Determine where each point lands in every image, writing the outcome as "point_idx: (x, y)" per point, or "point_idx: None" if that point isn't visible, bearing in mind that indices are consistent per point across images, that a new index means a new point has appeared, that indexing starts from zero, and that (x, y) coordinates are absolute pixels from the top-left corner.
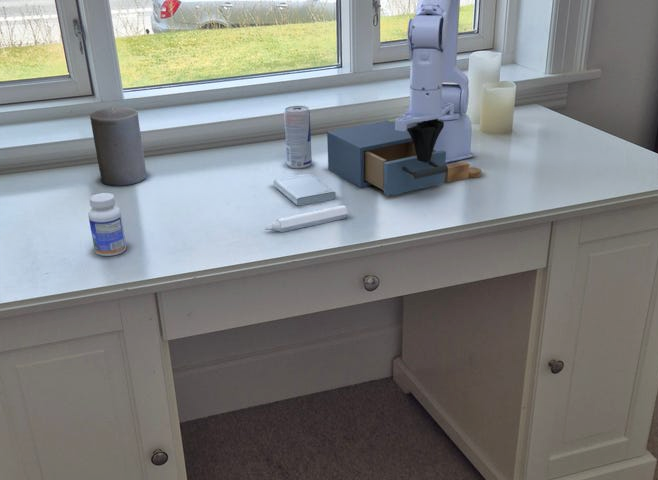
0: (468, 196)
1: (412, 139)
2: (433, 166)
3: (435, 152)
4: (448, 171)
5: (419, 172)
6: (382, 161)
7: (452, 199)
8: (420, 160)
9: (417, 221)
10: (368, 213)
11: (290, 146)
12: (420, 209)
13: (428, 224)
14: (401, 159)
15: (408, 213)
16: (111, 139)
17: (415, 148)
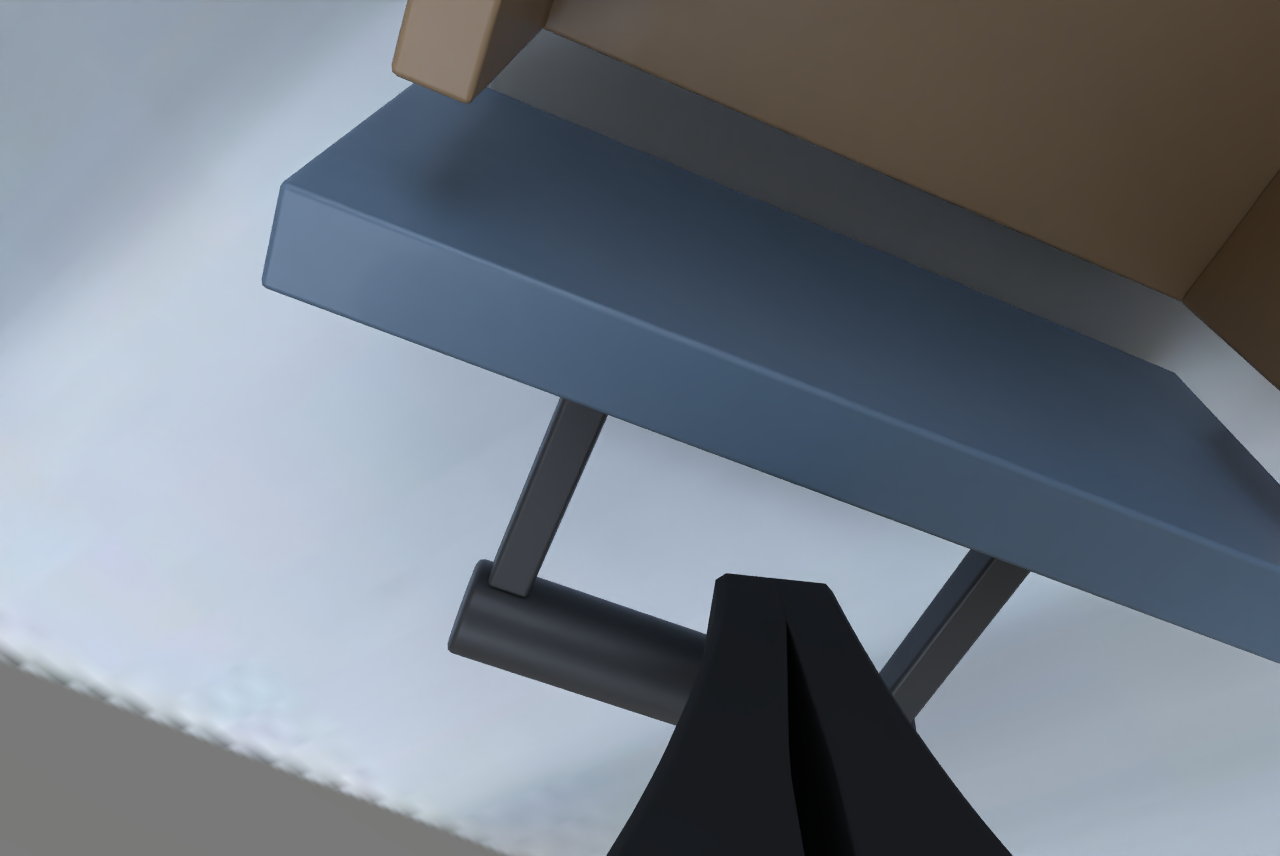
0: (968, 653)
1: (627, 831)
2: (950, 578)
3: (1232, 595)
4: None
5: (493, 665)
6: (397, 41)
7: (835, 591)
8: (710, 627)
9: (256, 601)
10: (35, 179)
11: None
12: (470, 503)
13: (274, 678)
14: (615, 353)
15: (327, 472)
16: None
17: (690, 700)
